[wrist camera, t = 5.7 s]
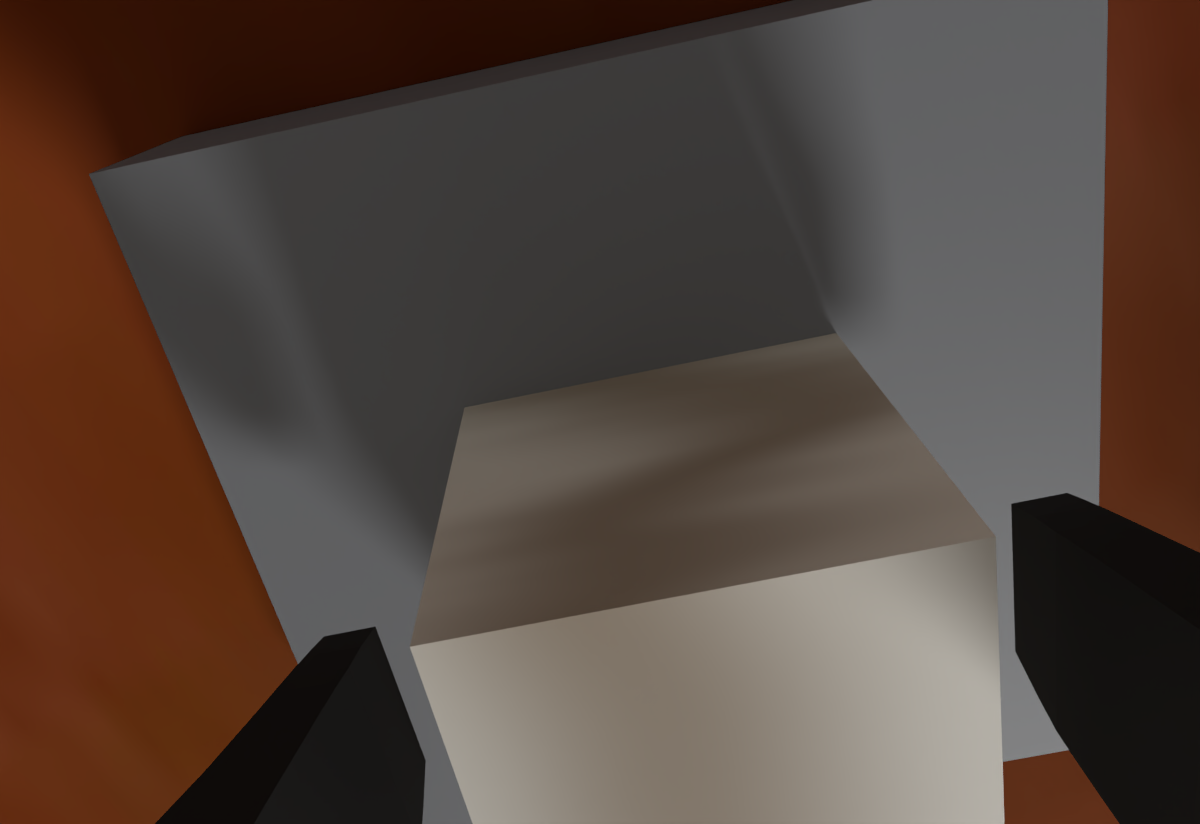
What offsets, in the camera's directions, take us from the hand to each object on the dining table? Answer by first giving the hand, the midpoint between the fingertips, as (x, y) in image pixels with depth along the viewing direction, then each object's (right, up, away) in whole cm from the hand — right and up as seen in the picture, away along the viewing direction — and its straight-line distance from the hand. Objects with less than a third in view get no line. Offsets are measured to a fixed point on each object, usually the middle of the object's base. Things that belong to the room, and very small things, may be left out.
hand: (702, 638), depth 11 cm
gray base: (0, +2, +5) cm, 6 cm away
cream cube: (0, +1, +3) cm, 3 cm away
